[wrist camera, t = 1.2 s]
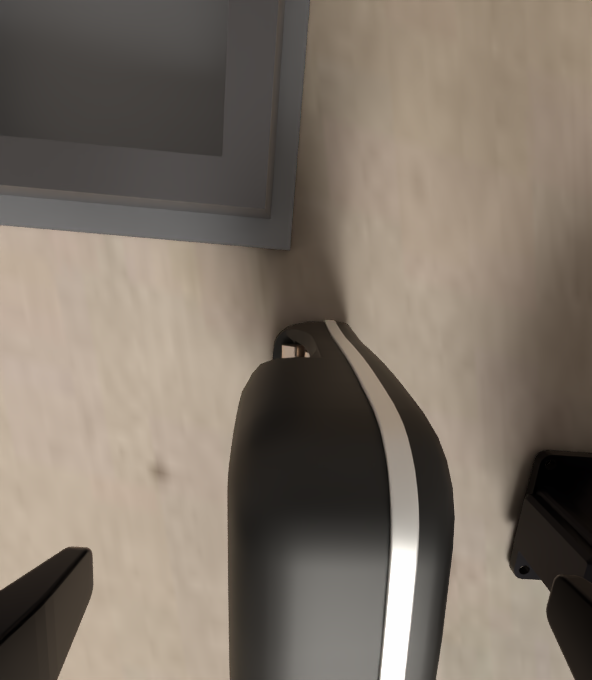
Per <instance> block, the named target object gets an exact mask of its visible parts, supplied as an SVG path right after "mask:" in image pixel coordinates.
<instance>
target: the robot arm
mask: <svg viewBox="0 0 592 680" xmlns="http://www.w3.org/2000/svg"><path fill="white" fill-rule="evenodd" d="M549 460H551V461H550V463H549V464H548V465H545V464H546V462H547V461H549ZM509 566H510V568H511V570H512V572H513V573H514V574H515V576H516V577H518V578H521V579H534V580H542V582H543V583H544V584H545V585H546V587H547V588H548V589H549V591H550V596H549V600H548V603H547V608H546V613H547V619H548V622H549V625H550V627H551V629H552V631H553V633H554V635H555V638H556V640H557V642H558V644H559V646H560V649H561V651H562V653H563V655H564V657H565V659H566V662H567V664H568V666H569V668H570V670H571V673H572V675H573V677H574V679H575V680H592V453H580V452H566V451H551V450H546V451H542V452H540V453H538V454H537V455H536V457H535V459H534V463H533V467H532V471H531V476H530V480H529V484H528V488H527V492H526V496H525V499H524V502H523V506H522V510H521V515H520V519H519V523H518V527H517V531H516V535H515V540H514V546H513V550H512V555H511V559H510V563H509ZM522 566H523V567H522ZM520 567H521V568H520ZM92 590H93V558H92V551H91V549H89V548H87V547H67V548H65V549H63V550H62V551H60V552H59V553H57V554H56V555H54V556H53V557H51V558H50V559H48V560H47V561H45V562H43V563H42V564H40V565H39V566H37V567H36V568H34V569H33V570H31V571H30V572H28V573H27V574H25V575H23V576H22V577H20V578H19V579H17V580H16V581H14V582H13V583H11V584H10V585H8V586H7V587H5V588H3V589H2V590H0V680H57V679H58V676H59V674H60V671H61V669H62V666H63V664H64V662H65V659H66V657H67V654H68V652H69V649H70V647H71V644H72V642H73V640H74V637H75V635H76V632H77V630H78V627H79V625H80V622H81V620H82V618H83V615H84V613H85V610H86V608H87V605H88V603H89V600H90V598H91V594H92Z"/></svg>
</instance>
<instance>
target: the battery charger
mask: <svg viewBox="0 0 592 680" xmlns="http://www.w3.org/2000/svg"><path fill="white" fill-rule="evenodd" d="M454 520H455V516H454V502H453V488H452V483H451V478H450V473H449V469H448V464H447V460H446V457H445V454H444V452H443V449H442V446H441V444H440V441H439V438H438V436H437V435H436V433H435V431H434V430H433V428H432V426H431V424H430V423H429V421H428V419H427V418H426V416H425V414H424V413H423V411H422V410H421V409H420V407H419V406H418V405H417V403H416V402H415V401H414V400H413V398H412V397H411V396H410V394H409V393H408V392H407V390H406V389H405V388H404V387H403V385H402V384H401V383H400V382H399V380H398V379H397V378H396V377H395V376H394V374H393V373H392V372H391V371H390V370H389V369H388V368H387V366H386V365H385V364H384V363H383V362H382V361H381V360H380V359H379V358H378V357H377V356H376V355H375V354H374V353H373V352H372V351H371V350H370V349H369V348H367V347H366V346H365V345H364V344H363V343H362V342H361V341H360V340H359V339H358V337H357V336H356V335H355V333H354V332H353V331H352V329H351V328H350V326H349V325H348V324H346V323H341V322H335V320H324V322H305V323H299V324H295V325H292V326H289V327H287V328H285V329H284V330H282V331H281V332H280V333H279V335H278V336H277V337H276V340H275V344H274V352H273V360H271V361H268V362H266V363H263V364H260V366H259V367H258V368H257V369H256V370H255V371H254V372H253V373H252V375H251V377H250V379H249V381H248V382H247V384H246V386H245V388H244V389H243V391H242V394H241V398H240V401H239V406H238V411H237V415H236V421H235V427H234V433H233V440H232V446H231V454H230V462H229V472H228V600H229V667H230V680H436V675H437V668H438V662H439V655H440V649H441V642H442V635H443V627H444V618H445V610H446V602H447V593H448V585H449V576H450V568H451V560H452V551H453V537H454Z"/></svg>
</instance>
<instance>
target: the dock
mask: <svg viewBox="0 0 592 680" xmlns="http://www.w3.org/2000/svg"><path fill="white" fill-rule="evenodd" d="M309 6H310V0H0V225H6V226H17V227H29V228H40V229H52V230H63V231H74V232H86V233H97V234H109V235H120V236H132V237H143V238H154V239H166V240H177V241H189V242H200V243H212V244H223V245H234V246H246V247H257V248H269V249H280V250H290V243H291V231H292V218H293V206H294V193H295V181H296V168H297V156H298V143H299V131H300V118H301V106H302V94H303V81H304V69H305V56H306V44H307V31H308V19H309Z"/></svg>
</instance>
